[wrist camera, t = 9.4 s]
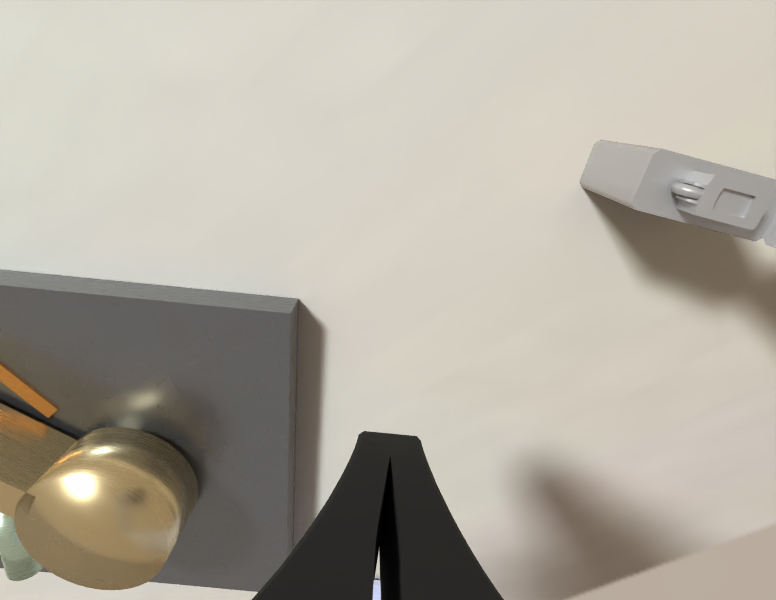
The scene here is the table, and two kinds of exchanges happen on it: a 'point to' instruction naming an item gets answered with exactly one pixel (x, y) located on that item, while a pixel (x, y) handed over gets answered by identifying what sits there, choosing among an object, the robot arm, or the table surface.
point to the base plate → (167, 404)
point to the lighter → (684, 189)
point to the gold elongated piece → (94, 500)
